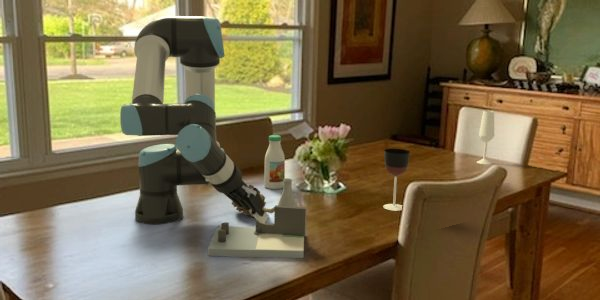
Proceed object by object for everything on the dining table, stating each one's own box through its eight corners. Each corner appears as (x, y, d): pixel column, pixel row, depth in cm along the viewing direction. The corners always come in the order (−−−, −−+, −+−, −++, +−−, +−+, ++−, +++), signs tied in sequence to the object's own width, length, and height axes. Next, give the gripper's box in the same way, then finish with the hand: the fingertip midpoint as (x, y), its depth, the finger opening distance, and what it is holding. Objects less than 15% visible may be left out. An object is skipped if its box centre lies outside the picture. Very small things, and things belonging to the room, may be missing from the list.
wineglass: (386, 202, 213) (389, 147, 209) (409, 206, 209) (413, 150, 205) (377, 207, 207) (380, 151, 202) (401, 212, 202) (404, 155, 198)
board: (208, 255, 163) (207, 238, 162) (218, 232, 180) (217, 216, 179) (304, 258, 162) (304, 240, 161) (304, 234, 180) (305, 218, 179)
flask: (295, 211, 201) (296, 183, 199) (274, 209, 203) (274, 181, 201) (300, 205, 208) (300, 177, 206) (279, 203, 210) (280, 176, 208)
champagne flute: (475, 163, 274) (480, 111, 269) (477, 160, 280) (481, 109, 275) (490, 165, 271) (495, 112, 266) (492, 161, 277) (497, 110, 272)
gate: (254, 232, 174) (254, 206, 172) (256, 229, 176) (256, 203, 174) (304, 236, 172) (305, 209, 170) (305, 233, 174) (306, 206, 172)
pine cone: (223, 212, 199) (222, 183, 197) (245, 206, 206) (245, 178, 204) (266, 229, 184) (267, 198, 182) (289, 222, 191) (289, 192, 188)
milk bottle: (261, 188, 227) (262, 137, 223) (267, 183, 235) (268, 133, 230) (281, 190, 225) (282, 138, 221) (286, 185, 233) (287, 134, 228)
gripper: (194, 180, 147) (239, 225, 164) (234, 190, 140) (277, 236, 157) (209, 155, 150) (252, 202, 167) (249, 164, 143) (289, 212, 160)
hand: (264, 219), depth 162 cm, fingers closed
